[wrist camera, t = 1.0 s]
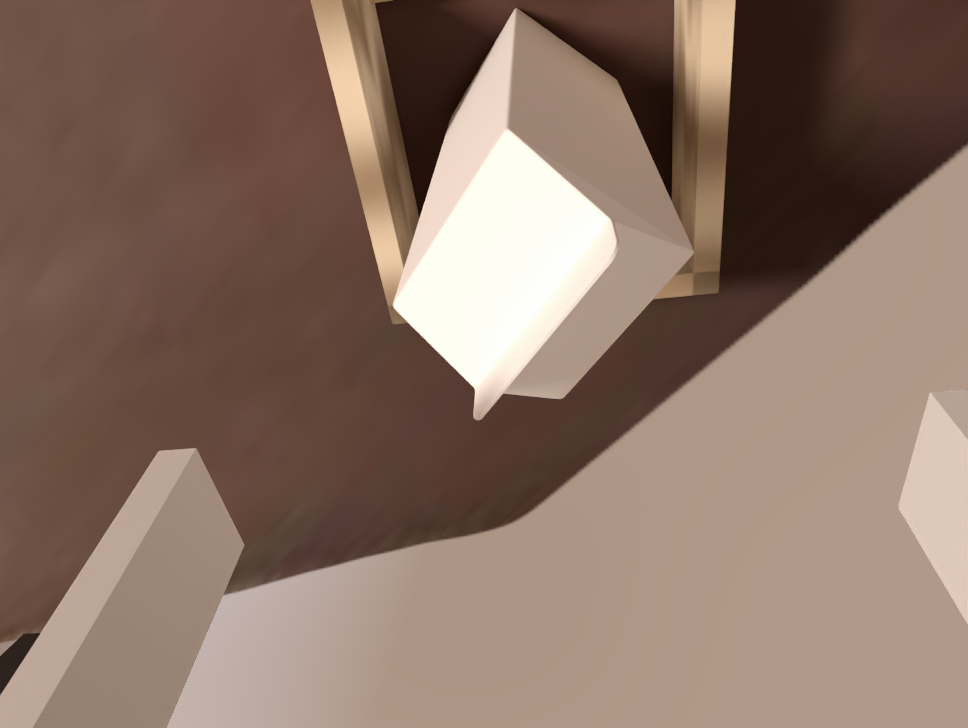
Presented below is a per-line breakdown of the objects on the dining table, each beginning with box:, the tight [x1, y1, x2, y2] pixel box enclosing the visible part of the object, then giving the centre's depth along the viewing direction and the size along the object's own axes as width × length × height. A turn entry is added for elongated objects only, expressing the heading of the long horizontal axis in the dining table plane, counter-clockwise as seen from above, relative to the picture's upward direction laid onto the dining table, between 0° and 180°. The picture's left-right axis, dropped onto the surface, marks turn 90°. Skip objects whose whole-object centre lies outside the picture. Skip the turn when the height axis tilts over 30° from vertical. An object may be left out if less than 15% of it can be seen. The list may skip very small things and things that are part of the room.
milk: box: [393, 8, 694, 420], centre depth 25 cm, size 6×6×22 cm
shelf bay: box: [311, 0, 736, 324], centre depth 32 cm, size 15×16×6 cm
